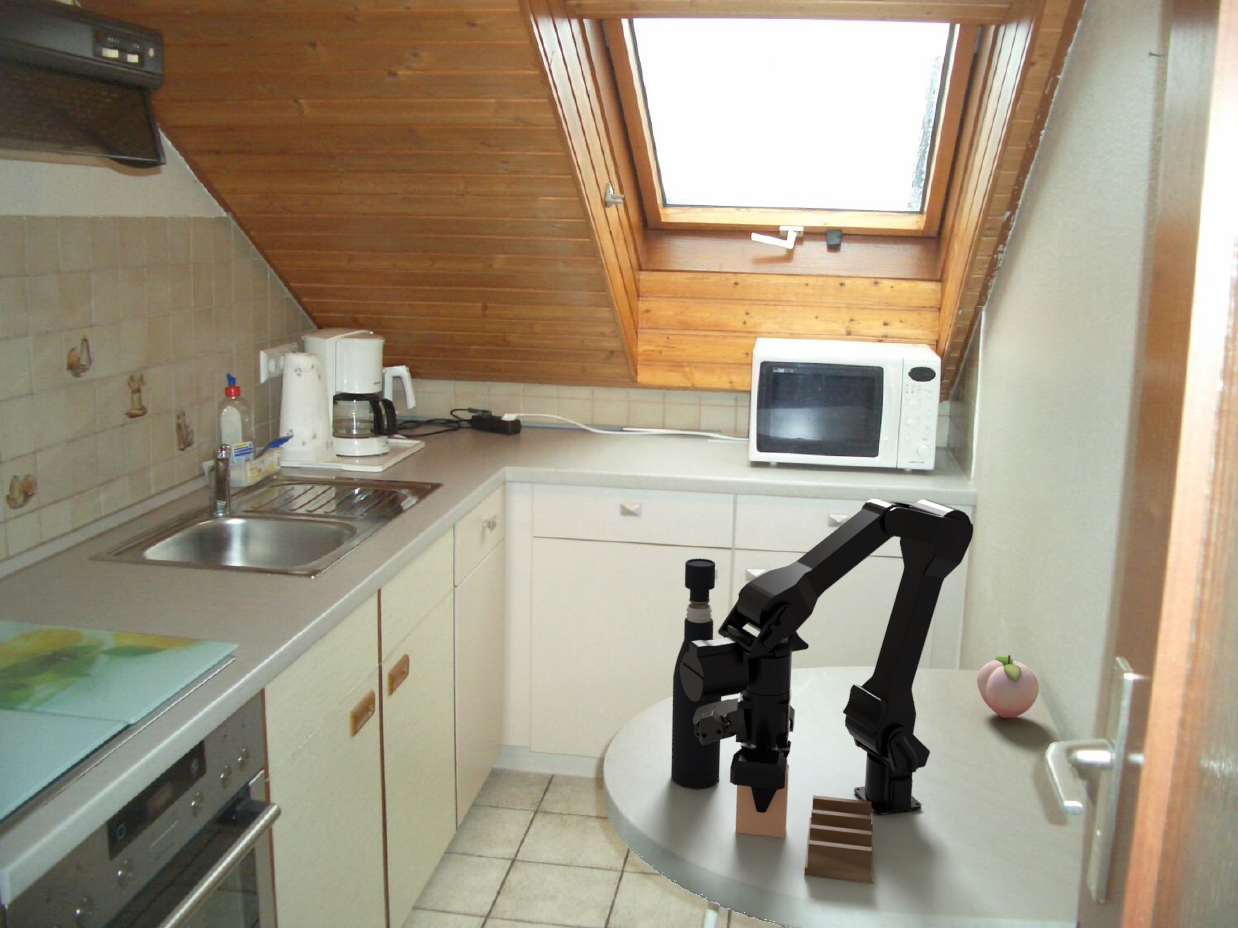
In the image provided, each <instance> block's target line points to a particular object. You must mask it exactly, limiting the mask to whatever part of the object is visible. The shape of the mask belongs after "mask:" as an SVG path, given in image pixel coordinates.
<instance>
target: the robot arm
mask: <svg viewBox="0 0 1238 928" xmlns="http://www.w3.org/2000/svg"><path fill="white" fill-rule="evenodd" d="M973 535H974V524H973V523H972V522H971V518H970V517H969V515H968V514H967V513H966V512H965V511H962V510H960V509H957V508H954V507H952V506H949V505H945V504H942V503H939V502H935V501H934V500H930V499H921V500H919V501H916V502H915V503H913V504H911V503H910V504H909V503H905V502H901V501H890V500H886V499H883V498H879V497H877V498H873V499H869V500H868V501H866V502H865V503H864V504H863V505H862V507H861V510H859V511H858V512H857V513H856V514H854V515H853V516H851V517H850V518H849V519H847V520H846V521H845V522H844V523H843V524H841V525H840V526H839V527H837V528H836V529H835V530H834V531H833V532H832V533H829V534H828V536H826V537H825V538H824V539H823V540H821V541H820V542H819V543H818V544H815V546H813V547H812V548H810V550H808V551H807V552H806V553H804V554H803V555H802V556H801V557H800V558H799V559H797V560H796V561H795V562H792V563H790V564H789V565H786V566H782V567H778V568H773V569H771V570H768V571H766V572H765V573H763V574H760V575H759V576H757V577H756V578H754V579H752V580H750V581H749V582H747V583H745V584H744V585H743V587H741V589H740V591H739V592H738V594H737V595H738V599H737V601H736V603H734V606H733V607H732V608H731V610H730V612H729V614H727V616H726V618H725V619H724V621H723V622H722V624H721V626H720V627H719V629H718V631H717V634H718V635H720V636H721V638H716V639H714V638H713V640H708V641H703V640H697V641H691V642H690V651H689V652H686V653H685V655H684V656H683V659H682V663H680V677H681V682H682V686H683V689H684V691H685V693H686V695H687V696H688V698H689V699H690V700H692V701H694V702H695V701H700V700H706V699H712V698H717V697H723V698H724V697H727V696H733V695H739V694H740V695H739V697H735V698H729V699H724V700H721V701H719V702H715V703H711V704H707V705H703V706H701V707H699V708H698V709H697V710H696V712H695V715H694V718H693V723H694V726H695V733H694V735H695V737H697V738H699V740H700V743H701V744H702V745H707V744H711V742H713V741H717V740H720V741H721V740H725V739H729V738H732V737H735V743H740V749H739V750H737V751H736V752H735V753H734V754H733V756H732V760H731V764H730V768H729V769H730V771H729V773H730V775H729V783H731V784H732V785H734V786H737V785H740V786H749V787H751V790H752V794H753V798H754V803H755V807H756V811H757V812H760V813H765V812H766V811H767V809H768V807H769V805H770V803H771V801H772V799H773V797H774V795H775V793H776V791H777V790H780V789H783V788H785V782H786V774H787V767H788V765H789V763H788V757H789V754H790V752H791V746H792V741H790V740H789V736H790V732H792V733H794V729H795V716H796V715H795V714H796V710H795V709H794V707H792V705H791V700H792V689H791V685H792V663H793V662H792V661H793V660H792V657H793V653H794V652H799V651H805V650H807V649H809V643H808V642H806V641H805V640H804V639H803V638H802V637H801V636H800V635H799V633H798V630H799V629H800V628H801V627H802V626H803V625H804V624H805V622H806V621H807V620H808V619H809V618H810V617H811V616H812V614H813V612H814V609H815V608H816V604H817V602H818V600H819V598H820V597H821V596H822V595H823V594H824V593H825V592H826V591H827V590H828V589H830V588H831V587H832V586H833V585H835V584H836V583H837V582H838V581H839V580H840V579H842V578H844V576H846V575H847V574H849V573H850V572H851V571H852V570H853V569H854V568H856V567H857V566H858V565H859V564H862V562H863V561H865V560H866V559H867V558H868V557H870V556H871V555H872V554H873V553H875V552H876V551H877V550H878V549H879V548H881V547H882V546H883V545H884V544H885V543H887V542H888V541H889V540H891V539H892V538H893V537H895V538H896V537H897V538H899V547H900V551H901V557H902V561H903V562H902V563H903V570H902V575H901V577H900V581H899V584H898V585H899V586H898V588H897V591H896V595H895V599H894V602H893V605H892V610H891V613H890V616H889V619H888V622H887V625H886V629H885V633H884V636H883V640H882V643H881V647H880V650H879V653H878V656H877V660H876V663H875V667H874V671H873V673H872V676H870V678H868V679H867V680H866V681H865V682H864V683H863V684H862V685H858V684H856V683H854V684H852V685H851V687H850V690H849V694H848V695H849V696H848V700H847V703H846V706H845V707H844V709H843V710H842V713H843V714H844V715H845V719H844V726H845V728H846V729H847V732H848V733H849V735H850V736H851V737H852V738H853V741H854V743H855V746H856V747H857V748H860V749H861V750H863V751H865V752H866V763H865V779H864V780H865V781H864V786H863V785H862V786H858V787H854V788H853V792H854V794H855V795H856V796H857V797H858V798H859V800H863V801H871V812H873V813H874V814H875V813H876V814H875V815H885V813H886V814H894V813H898V812H899V813H900V812H907V811H916V810H921V809H922V803H921V802H919V800H918V799H916V798H915V797H914V796H913V793H912V792H913V781H914V780H913V773H917V770H918V769H920V768H925V767H926V765H927V762H928V759H929V757H930V754H931V752H930V751H931V750H930V749H929V748H927V746H926V745H925V744H924V743H922V741H921V740H919V739H918V738H917V736H916V735H915V734H914V733H915V732H914V731H915V725H916V719H917V711H916V705H915V700H914V695H913V685H914V682H915V678H916V674H917V671H918V667H919V664H920V661H921V657H922V653H923V650H924V648H925V644H926V641H927V638H928V633H929V630H930V627H931V623H932V620H933V617H934V614H935V610H936V606H937V603H938V600H939V597H940V593H941V590H942V587H943V582H944V581H945V579H946V578H947V577H948V576H949V575H950V574H952V573H953V571H954V570H955V569H956V568H957V567H958V566H959V565H960V564H961V563H962V561H963V559H964V557H965V555H966V553H967V550H968V548H969V546H970V544H971V541H972V539H973ZM747 625H748V626H750V627H751V628H753V629H755V630H757V632H759V633H758V635H757V636H756V635H754V634H753V633H751V632H750V631H748V630H746V628H744V627H745V626H747Z"/></svg>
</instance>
